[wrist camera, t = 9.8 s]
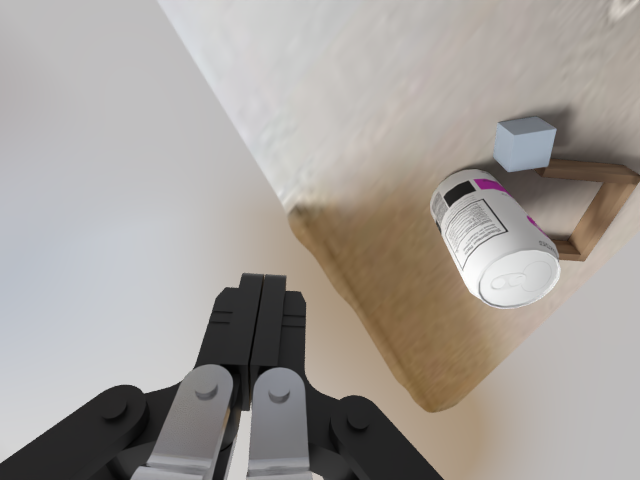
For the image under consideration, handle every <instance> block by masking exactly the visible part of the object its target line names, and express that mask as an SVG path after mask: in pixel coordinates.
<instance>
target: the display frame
mask: <svg viewBox="0 0 640 480" xmlns="http://www.w3.org/2000/svg"><path fill="white" fill-rule="evenodd" d="M533 170H535V171H536V172H537V173H538V174H539V175H540V176H541V177H549V178H561V179H573V180H585V181H596V182H604V183H603V185H602V186H601V188H600V190H599V191H598V193H597V194H596V196H595V198H594V199H593V201H592V203H591V204H590V206H589V207H588V209H587V211H586V212H585V214H584V215H583V217H582V219H581V220H580V222H579V223H578V225H577V227H576V228H575V230H574V231H573V233H572V235H571V236H570V238H569V239H568V241H563V240H551V241H552V242H553V243H554V244H555V246H556V249H557V251H558V254H559V260H571V261H585V260H586V258H587V257H588V255H589V254H590V253H591V251H592V250H593V248H594V247H595V245H596V244H597V242H598V241H599V239H600V238H601V237H602V235H603V234H604V232H605V231H606V229H607V228H608V226H609V225H610V223H611V222H612V221H613V219H614V218H615V216H616V215H617V213H618V212H619V210H620V209H621V207H622V206H623V205H624V203H625V202H626V200H627V199H628V197H629V196H630V194H631V193H632V191H633V190H634V189H635V187H636V186H637V184H638V183H639V181H640V175H639V174H637V173H636V172H634V171H632V170H631V169H629V168H627V167H626V166H624V165H617V164H606V163H594V162H583V161H572V160H560V159H550V160H549V164H548V166H547V167H541V168H534V169H533Z"/></svg>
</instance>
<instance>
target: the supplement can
mask: <svg viewBox="0 0 640 480" xmlns="http://www.w3.org/2000/svg"><path fill="white" fill-rule="evenodd" d="M430 209H431V214H432V216H433V218H434V220H435V222H436V225H437V227H438V229H439V231H440V233H441V235H442V237H443V239H444V241H445V243H446V245H447V247H448V249H449V251H450V253H451V256H452V258H453V260H454V262H455V264H456V266H457V268H458V270H459V272H460V274H461V276H462V278H463V280H464V282H465V284H466V286H467V288H468V289H469V291H470V293H472V294H473V295H475V296H476V297H478V298H480V299H481V300H482V301H483V302H485V303H486V304H488V305H489V306H491V307H496V308H500V309H511V308H518V307H522V306H525V305H529V304H531V303H533V302H535V301H537V300H539V299H541V298H542V297H544V296H545V295H546V294H547V293H548V292H550V291H551V290H552V289H553V287H554V286H555V284H556V283H557V281H558V280H559V276H560V271H561V268H560V265H559V254H558V251H557V249H556V246H555V244H554V243H553V242H552V241H551V240H550V239H549V237H548V236H547V235H546V234H545V233H544V232H543V231H542V230H541V228H540V227H539V226H538V225H537V224H536V223H535V222H534V221H533V220H532V218H531V217H530V216H529V215H528V214H527V213H526V212H525V211H524V210H523V208H522V207H521V206H520V205H519V204H518V203H517V202H516V201H515V199H514V198H513V197H512V196H511V195H510V194H509V193H508V192H507V191H506V189H505V188H504V187H503V186H502V185H501V184H500V183H499V182H498V180H497V179H496V178H494V177H493V176H492V175H491V174H490V173H488V172H485V171H482V170H478V169H471V170H463V171H460V172H457V173H455V174H452V175H450V176H449V177H448V178H446V179H445V180H444V181H442V182H441V183H440V184H439V186H438V187H437V188H436V190H435V191H434V192H433V195H432V198H431V201H430Z"/></svg>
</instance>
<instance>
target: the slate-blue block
mask: <svg viewBox="0 0 640 480" xmlns="http://www.w3.org/2000/svg"><path fill="white" fill-rule="evenodd" d="M556 130H557V129H556V128H555V127H553V126H551V125H550V124H548V123H547V122H545V121H543V120H542V119H540V118H539V117H537V116H535V117H529V118H522V119H516V120H510V121H504V122H498V124H497V132H496V139H495V147H494V155H493V158H494V159H495V160H496V161H497V162H498V163H499V164H500V165H501V166H502V167H503V168H504V169H505V170H506V171H507V172H514V171H521V170H527V169H534V168H541V167H547V166H548V164H549V160H550V156H551V151H552V147H553V143H554V138H555V134H556Z"/></svg>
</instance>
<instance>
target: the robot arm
mask: <svg viewBox="0 0 640 480" xmlns="http://www.w3.org/2000/svg"><path fill="white" fill-rule="evenodd" d="M305 324H306V302H305V300H304V298H303V296H302V294H301V292H298V291H286V276H283V275H268V274H266V275H265V280H264V274H250V273H243V274H242V277H241V281H240V285H239V288H229V287H226V288H225V289H224V290H223V291H222V292H221V293H220V294H219V295H218V296H217V298H216V300H215V303H214V307H213V310H212V313H211V316H210V319H209V324H208V326H207V329H206V332H205V335H204V339H203V342H202V345H201V348H200V352H199V355H198V358H197V362H196V364H195V367H194V368H193V370H192V371H191V372H189V373H188V374H187V375H186V376H185V378H184V379H183V380H182V381H181V382H179V383H177V384H176V385H173V386H171V387H168V388H165V389H161V390H157V391H153V392H149V393H145V394H144V393H143V392H142V391H141V390H140V389H139V388H137V387H135V386H132V385H119V386H115V387H112V388H109V389H108V390H105V391H104V392H102V393H100V394H99V395H98V396H96V397H95V398H93V399H92V400H90V401H89V402H87V403H86V404H85V405H83V406H82V407H80V408H79V409H78V410H76V411H75V412H73V413H72V414H70V415H69V416H67V417H66V418H65V419H63V420H62V421H60V422H59V423H57V424H56V425H55V426H53V427H52V428H50V429H49V430H47V431H46V432H45V433H43V434H42V435H40V436H39V437H37V438H36V439H35V440H33V441H32V442H31V443H29V444H27V445H26V446H25V447H23V448H22V449H20V450H19V451H17V452H16V453H15V454H13V455H12V456H10V457H9V458H7V459H6V460H5V461H3V462H2V463H0V480H227V477H228V472H229V468H230V464H231V460H232V456H233V452H234V448H235V444H236V439H237V432H238V428H239V422H240V416H241V411H249V410H250V405H251V402H252V419H251V433H250V448H249V463H248V472H247V477H246V480H313V479H312V472H314V473H316V474H318V475H320V476H323V479H324V480H444V479H443V478H442V477H441V476H440V475H439V474H438V473H437V472H436V470H435V469H434V468H433V467H432V466H431V465H430V464H429V463H428V462H427V461H426V459H425V458H424V457H423V456H422V455H421V454H420V453H419V452H418V451H417V450H416V448H415V447H414V446H413V445H412V444H411V443H410V442H409V441H408V440H407V439H406V438H405V436H404V435H403V434H402V433H401V432H400V431H399V430H398V429H397V428H396V427H395V426H394V425H393V423H392V422H391V421H390V420H389V419H388V418H387V417H386V416H385V415H384V414H383V413H382V411H381V410H380V409H379V408H378V407H377V406H376V405H375V404H374V403H373V402H372V401H370V400H369V399H367V398H365V397H362V396H356V395H351V396H347V397H344V398H342V399H340V400H337V399H335V398H332V397H330V396H327V395H325V394H322V393H320V392H319V391H317V390H316V389H315V388H313V387H312V386H311V384H310V383H309V381H308V380H307V377H306V375H305V368H304V365H305V364H304V363H305V327H306V325H305Z"/></svg>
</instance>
